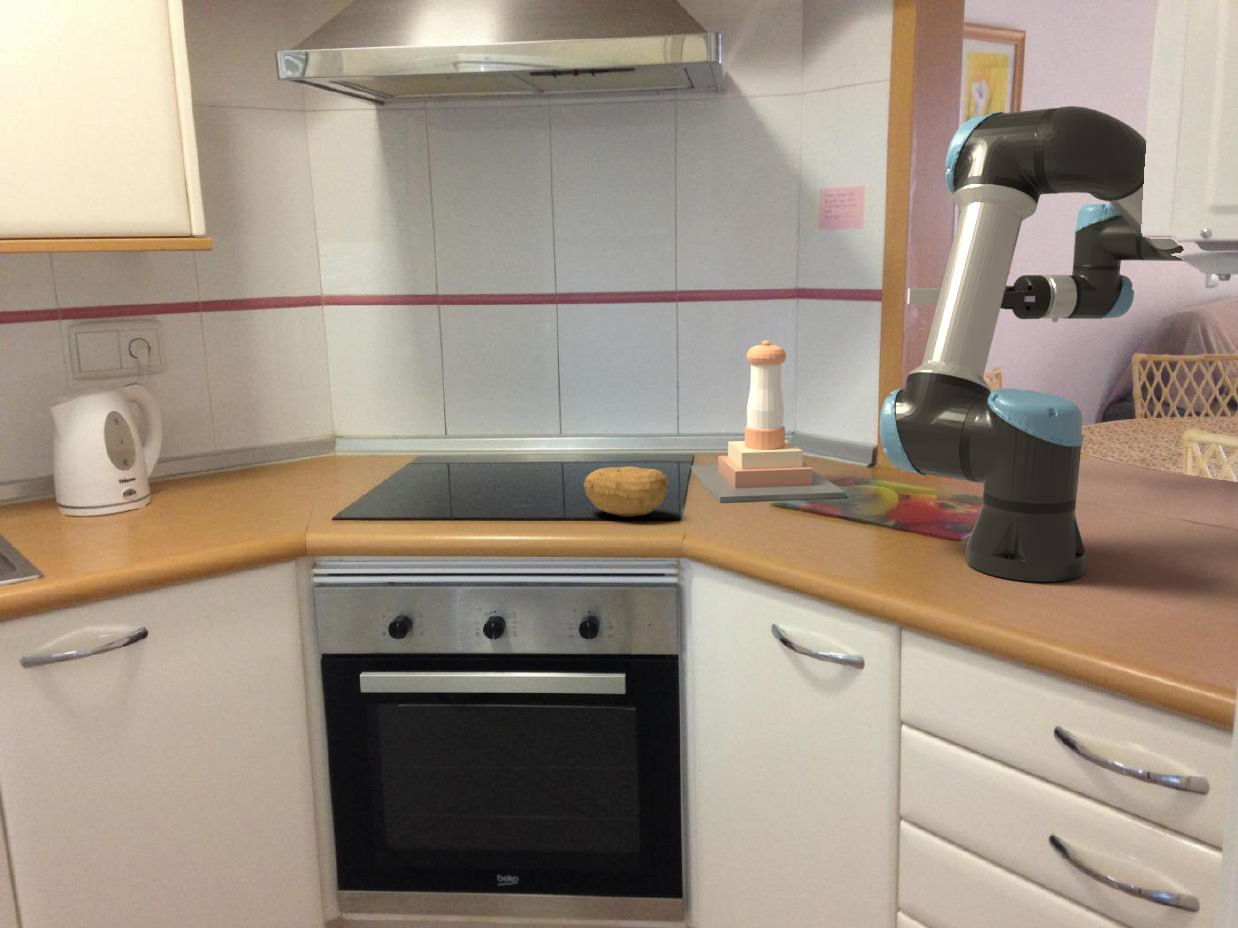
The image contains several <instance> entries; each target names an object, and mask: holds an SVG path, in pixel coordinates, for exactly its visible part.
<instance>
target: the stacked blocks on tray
mask: <svg viewBox="0 0 1238 928" xmlns="http://www.w3.org/2000/svg"><path fill="white" fill-rule="evenodd" d="M717 459H718V460H717V464H704V465H703V464H701V465H700V464H699V465H691V472H692V473H693V474H694V475H695V477H696V478H697V479H698V480H699V481H700V482H701V483H702V484H703V485H704V486H705V487H706V488H707V490H708V491H709V492H710V493H711V494H712V496H714V497H715V499H716V500H717V501H718V502H719V503H722V504H723V503H744V502H770V501H771V502H772V501H773V502H774V501H796V500H800V501H801V500H820V499H822V500H824V499H826V500H827V499H845V498H846V492H845V491H844V490H843V489H841V488H840V487H838V486H837V485H835V484H834V483H833V482H831V481H830V480H829V479H827V478H826V477H824V476H822V475H821V474H819V473H818V472H817V471H816V470H814V468H812V467H811V466H809V464H807V463H805V462H804V461H803V450H802V449H800V448H799V447H797V446H796V445H794V444H793V443H791V442H790V441H789V440H787V439H785V447H783V448H780V449H769V450H764V449H752V448H748V447H746V446H745V440H738V441H737V440H735V441H727V455H718V457H717Z"/></svg>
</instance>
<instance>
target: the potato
mask: <svg viewBox="0 0 1238 928" xmlns="http://www.w3.org/2000/svg"><path fill="white" fill-rule="evenodd" d="M668 486H669V481H668V478H667V475H666V474H664V473H663V472H662V471H661V470H658V469H655V468H654V469H653V468H645V467H644V468H643V467H636V466H631V465H629V466H619V467H603V468H598V469H596V470H594V471H591V472H590V473H589V474H588V475H587V476H586V477H585V480H584V481H583V488H584V492H585V495H586V496H587V498H588V500H590V501H591V503H592V504H593V505H594V507H595V508H597V509H598V510H600V511H602V512H605V513H607V514H611V515H613V516H617V517H621V518H632V517H633V518H634V517H638V516H645V515H648V514H650V513H652V512H654V511H655V510H656V509H658V508H659V507H660V506H661V505H662V503H663V501H664V500H665V497H666V496H667V493H668Z"/></svg>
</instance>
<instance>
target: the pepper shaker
mask: <svg viewBox="0 0 1238 928" xmlns="http://www.w3.org/2000/svg"><path fill="white" fill-rule="evenodd" d="M786 358H787V354H786V351H785V350H784V348H783V347H782V346H781V347H780V345H779V346H778V345H776V344H775V345H774V344H772V342H771V341H770V340H763V341H762V342H761V344H757V345H754V346H752V347H750V348H749V350H748V351H747V353H746V360H747V361H748V363H750V389H749V395H748V400H747V406H746V426H745V427H744V441H745V446H746V447H748V448H752V449H764V450H769V449H780V448H783V447H785V440H786V427H785V426H784V410H785V408H784V398H783V392H782V364H784V362H785V361H786Z"/></svg>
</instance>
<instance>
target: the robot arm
mask: <svg viewBox="0 0 1238 928" xmlns="http://www.w3.org/2000/svg"><path fill="white" fill-rule="evenodd" d="M1146 141H1147V140H1146V138H1145V137H1144V136H1143V135H1142V134H1140V132H1138V130H1136V129H1134V128H1133V127H1132V126H1131V125H1128V124H1127V123H1125V122H1123V121H1121V120H1120V119H1118V118H1117V117H1114V116H1112V115H1110V114H1108V113H1105V112H1102V111H1100V110H1096V109H1093V108H1089V107H1085V106H1075V105H1070V106H1069V105H1068V106H1060V107H1055V108H1053V107H1051V108H1043V109H1031V110H1024V111H1023V110H1022V111H1012V112H1004V111H995V112H992V113H988V114H985V115H979V116H974V117H972V118H970V119H969V120H966V121H965V122H964V123H962V125H961V126H960V127H959V128H958V129H957V130H956V132H955V133H954V135H953V137H952V139H951V141H950V144H949V147H948V149H947V150H948V151H947V154H946V158H945V167H946V169H947V170H946V172H945V180H946V184H947V188H948V190H949V191H950V192H951V194H952V195H953V202H954V204H955V205H956V207H957V208H958V209H959V211H960V213H959V217H958V220H957V221H958V222H957V225H956V229H955V234H954V237H953V241H952V244H951V248H950V253H949V255H948V256H949V257H948V261H947V264H946V267H945V272H944V276H943V280H942V284H941V288H939V287H938V288H937V287H936V288H935V287H933V288H919V287H918V288H907V300H906V301H907V305H936V308H935V311H934V316H933V319H932V324H931V327H930V332H929V334H928V335H929V336H928V340H927V344H926V346H925V347H926V348H925V351H924V356H923V359H922V363H921V364H920V366H917V367H916V368H915V369H913V370H911V371H910V372H909V373H908V374H907V378H906V382H905V384H904V388H898V389H895V390H892V391H891V392H890V393H888V396H887V397H886V398H885V399H884V402H883V404H882V405H881V406H882V407H881V410H880V416H879V436H880V437H879V438H880V443H881V445H882V450H883V453H884V454H885V456H886V457H885V458H887V460H888V462H889V463H890V464H892V466H894V467H895V468H897V469H899V470H902V471H905V472H906V471H907V472H910V473H914V474H915V473H916V474H918V475H919V476H927V475H929V476H935V477H942V478H948V479H954V480H959V481H964V482H965V481H966V482H973V483H980V484H983V494H982V504H981V509H980V511H979V514H978V517H977V519H976V521H975V523H974V526H973V528H972V530H971V533H970V535H969V538H968V540H967V542H966V548H965V562H966V564H967V565H968V566H970V567H971V568H973V569H975V570H977V571H979V572H980V573H984V574H988V575H991V576H994V577H999V578H1003V579H1009V580H1016V581H1023V582H1024V581H1025V582H1039V583H1040V582H1042V583H1045V582H1048V583H1049V582H1050V583H1051V582H1052V583H1053V582H1062V581H1069V580H1074V579H1077V578H1080V577H1081V576H1083V575H1084V574H1085V571H1086V561H1087V553H1086V550H1085V547H1084V546H1085V545H1084V542H1083V539H1082V535H1081V532H1080V531H1081V530H1080V527H1079V524H1078V521H1077V516H1076V515H1077V514H1076V511H1077V510H1076V509H1077V507H1076V506H1077V505H1076V504H1077V496H1078V486H1079V474H1080V464H1081V463H1080V462H1081V451H1082V444H1083V443H1084V442H1083V441H1084V435H1083V433H1082V432H1083V431H1082V430H1083V414H1082V410H1081V408H1080V407H1079V406H1078V405H1077V404H1075V402H1072V401H1071V400H1069V399H1067V398H1064V397H1061V396H1058V395H1055V394H1050V393H1047V392H1042V391H1041V392H1040V391H1036V390H1030V389H1029V390H1028V389H1018V388H997V389H994V390H992V389H991V387H990V386H989V385H988V383H987V381H986V380H985V379H984V378H985V377H984V375H985V371H986V369H987V364H988V360H989V355H990V351H991V347H992V343H993V339H994V335H995V332H996V327H997V322H998V319H999V315H1000V311H1001V309H1003V310H1012V311H1011V312H1012V313H1013V314H1014V316H1015V317H1016V318H1017V319H1019V320H1040V319H1044V320H1045V319H1046V320H1049V319H1050V320H1051V321H1052V323H1057V322H1059V319H1063V320H1064V319H1069V320H1070V319H1071V320H1072V319H1076V320H1077V319H1078V320H1080V319H1081V320H1087V319H1088V320H1097V319H1098V320H1101V319H1110V318H1111V319H1112V318H1113V319H1115V318H1119V317H1122V316H1124V315H1125V314H1127V312H1129V310H1130V309H1131V307H1132V306H1133V302H1134V297H1135V296H1134V295H1135V291H1134V289H1133V282H1132V280H1131V279H1130V278H1129V277H1128V276H1126V275H1123V274H1120V273H1121V271H1120V270H1121V262H1122V261H1149V262H1150V261H1152V262H1153V261H1163V262H1164V261H1166V262H1167V261H1168V262H1169V261H1170V262H1172V261H1173V262H1186V261H1185V260H1182V259H1181V258H1178V257H1176V256H1172V255H1171V254H1174V253H1181V252H1182V251H1183V250H1184V249H1183V247H1182V246H1180V245H1177V243H1176V242H1175V241H1174V240H1172V239H1150V238H1146V237H1143V236H1142V233H1141V224H1142V200H1143V184H1144V167H1145V154H1146ZM1072 193H1074V194H1078V193H1080V194H1081V193H1082V194H1090V195H1091V196H1092V197H1094V198H1095V199H1098V200H1099V201H1104V202H1109V203H1098V204H1097V203H1094V204H1085V205H1083V206H1081V207H1080V208H1079V210H1078V212H1077V220H1076V225H1075V230H1074V246H1073V249H1074V250H1073V259H1072V260H1073V263H1072V274H1045V275H1041V274H1025V275H1023V274H1022V275H1020V276H1019V277H1018V278H1016V280H1015V282H1014V283H1013V285H1007V282H1008V279H1009V275H1010V271H1011V266H1012V264H1013V263H1012V262H1013V260H1014V259H1013V258H1014V255H1015V251H1016V247H1017V243H1018V239H1019V234H1020V231H1021V227H1022V223H1023V221H1025V220H1027V219H1029V218H1030V217H1031V216H1033V215H1035V213H1036V211H1037V208H1038V207H1037V206H1038V204H1039V200H1040V197H1041V196H1042V195H1051V194H1052V195H1053V194H1054V195H1055V194H1056V195H1057V194H1072Z"/></svg>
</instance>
